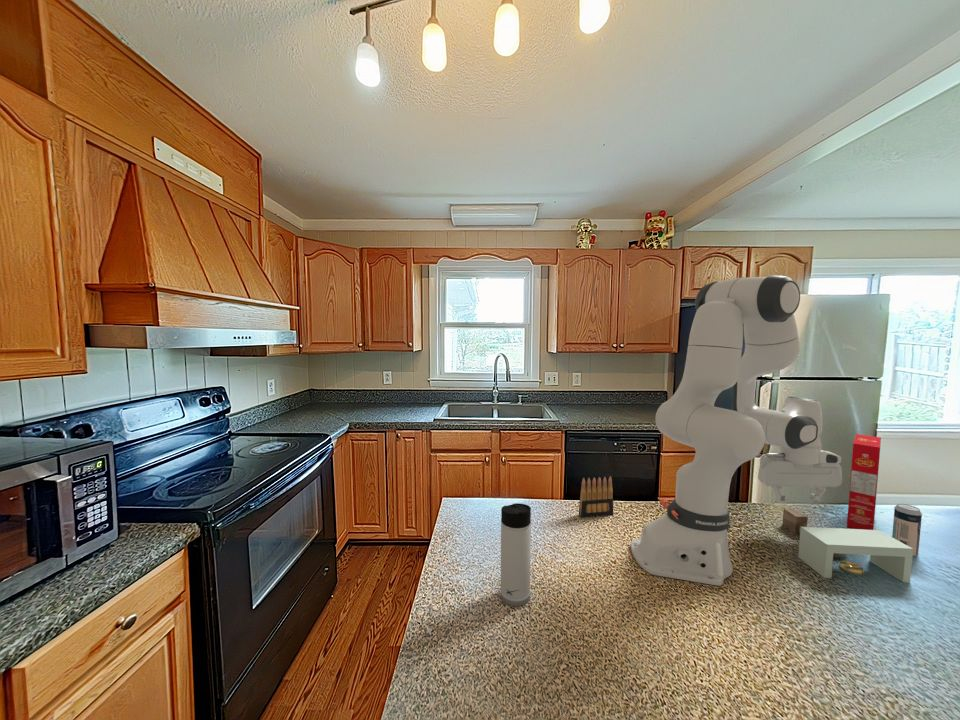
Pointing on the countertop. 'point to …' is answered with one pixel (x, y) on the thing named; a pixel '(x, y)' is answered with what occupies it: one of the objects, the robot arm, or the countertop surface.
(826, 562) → the pale green bridge
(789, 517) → the scraper
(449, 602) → the countertop surface
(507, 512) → the travel mug
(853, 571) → the brass disc
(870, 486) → the food packaging
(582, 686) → the countertop surface
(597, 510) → the ammunition clip
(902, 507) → the beer can
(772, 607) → the countertop surface
